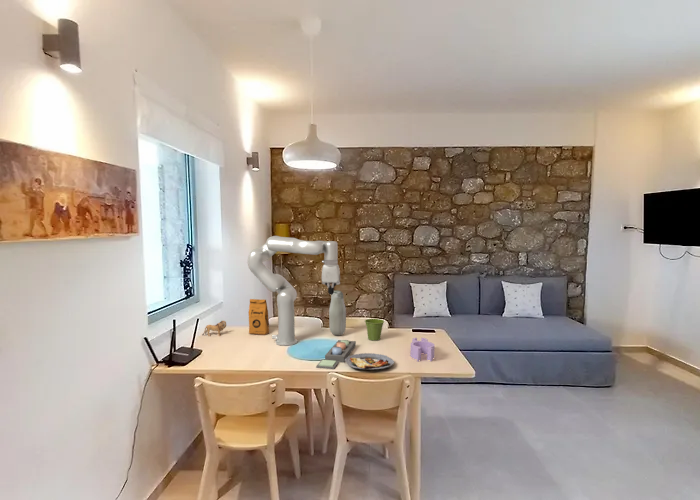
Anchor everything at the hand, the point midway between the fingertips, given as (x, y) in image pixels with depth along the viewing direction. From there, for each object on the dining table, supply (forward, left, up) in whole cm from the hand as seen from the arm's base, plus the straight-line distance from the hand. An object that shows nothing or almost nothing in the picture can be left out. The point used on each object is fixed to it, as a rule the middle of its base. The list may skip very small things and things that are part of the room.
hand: (331, 294), depth 251 cm
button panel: (+10, -16, -29) cm, 35 cm away
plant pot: (+23, +15, -29) cm, 40 cm away
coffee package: (-50, +11, -29) cm, 59 cm away
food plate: (+28, -30, -30) cm, 51 cm away
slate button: (+10, -25, -28) cm, 39 cm away
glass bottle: (-1, +19, -29) cm, 35 cm away
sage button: (+10, -7, -29) cm, 31 cm away
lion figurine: (-75, +1, -29) cm, 81 cm away
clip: (+53, -9, -30) cm, 61 cm away
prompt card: (+8, -36, -29) cm, 47 cm away
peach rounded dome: (+10, -16, -28) cm, 33 cm away
